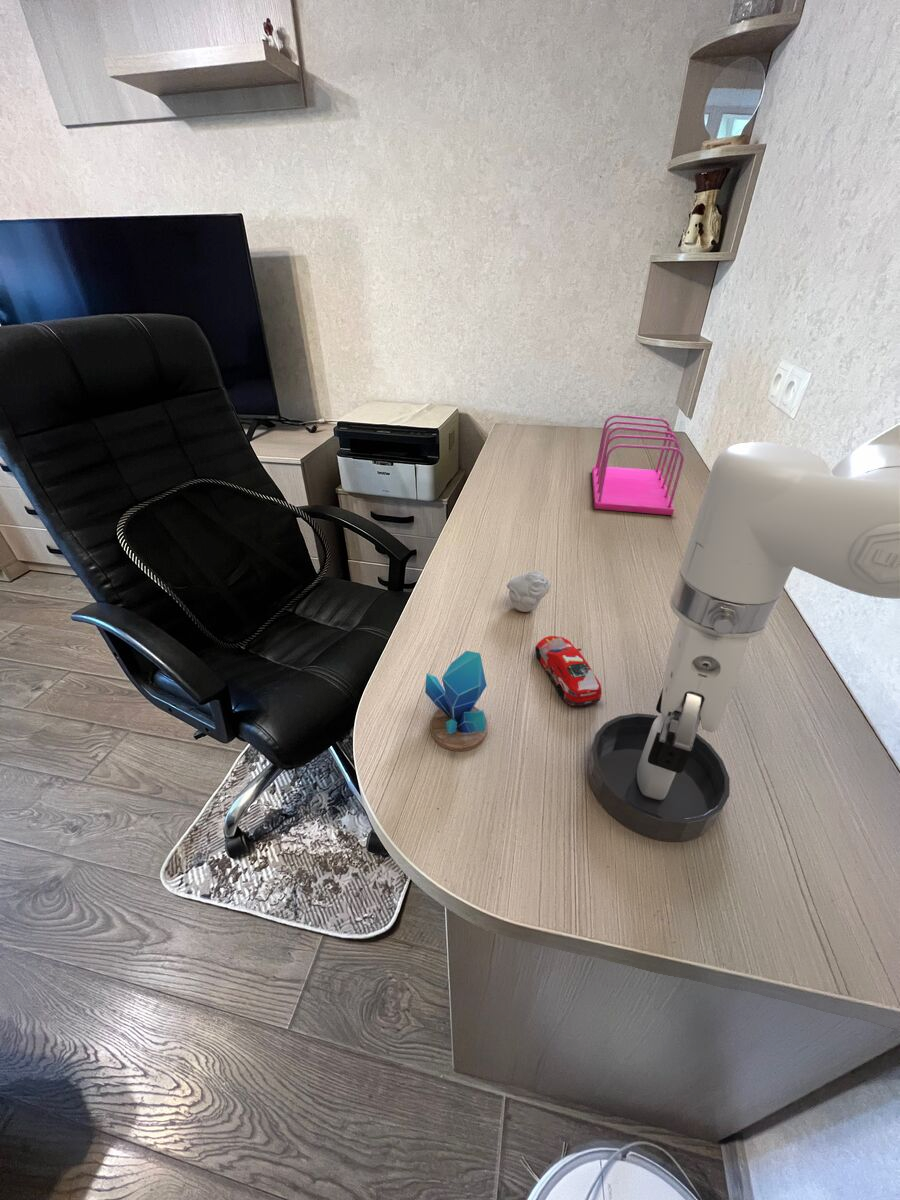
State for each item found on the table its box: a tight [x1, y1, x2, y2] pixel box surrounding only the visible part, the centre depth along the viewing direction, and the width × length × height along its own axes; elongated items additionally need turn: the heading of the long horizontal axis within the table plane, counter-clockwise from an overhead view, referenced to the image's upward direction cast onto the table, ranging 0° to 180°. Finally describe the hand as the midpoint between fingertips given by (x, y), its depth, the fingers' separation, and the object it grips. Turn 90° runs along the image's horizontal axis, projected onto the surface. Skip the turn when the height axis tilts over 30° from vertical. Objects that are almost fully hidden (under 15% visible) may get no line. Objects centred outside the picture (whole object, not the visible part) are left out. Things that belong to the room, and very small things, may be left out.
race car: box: [535, 635, 602, 708], centre depth 69 cm, size 13×5×4 cm, turn 13°
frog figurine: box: [506, 570, 552, 613], centre depth 82 cm, size 6×7×7 cm
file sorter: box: [591, 414, 685, 516], centre depth 120 cm, size 17×25×16 cm
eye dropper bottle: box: [637, 706, 682, 800], centre depth 52 cm, size 4×6×12 cm
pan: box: [587, 712, 731, 843], centre depth 55 cm, size 14×14×4 cm
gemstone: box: [424, 650, 489, 752], centre depth 59 cm, size 7×9×12 cm
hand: (667, 737), depth 52 cm, fingers open, 6 cm apart
